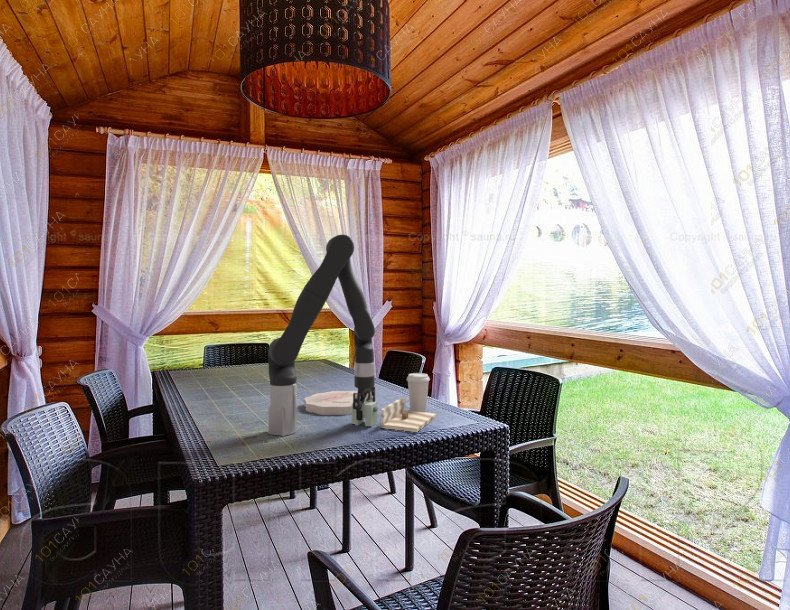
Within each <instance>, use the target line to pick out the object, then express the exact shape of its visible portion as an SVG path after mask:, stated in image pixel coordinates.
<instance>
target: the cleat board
mask: <svg viewBox="0 0 790 610" xmlns="http://www.w3.org/2000/svg"><path fill="white" fill-rule="evenodd" d="M406 403H407V397H406V396H402V397H400V398H399V399H397V400H395V401H393V402H391V403H390V404H387V405H386V406H384V407H383V408H380V429H381V428H386V429H385V430H388V429H395V430H394V431H397V430H404V431H403V432H405V431H412V432H411V433H413V432H418V431H419V430H420V429H421V430H423V429H424V428H425V427H426V426H427V424H428V423H429V422H430V421H431V422H432V421H434V420H435V419H436V418H437V413H435V412H434V413H433V412H415V411H410V410H407V404H406ZM435 417H436V418H435ZM434 418H435V419H434ZM433 419H434V420H433ZM431 422H430V423H431ZM430 423H429V424H430ZM429 424H428V425H429ZM425 425H426V426H425ZM424 426H425V427H424ZM423 427H424V428H423ZM422 428H423V429H422ZM421 430H420V431H421ZM420 431H419V432H420ZM419 432H418V433H419Z"/></svg>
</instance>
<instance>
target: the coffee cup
mask: <svg viewBox="0 0 790 610" xmlns="http://www.w3.org/2000/svg"><path fill="white" fill-rule="evenodd" d="M430 380H431V378H430V376H428V374H427V373H421V372H413V373H408V376H407V378H406V381H407V385H408V386H407V387H408V396H409V397H408V399H409V400H408V401H409V411H415V412H424V413H426V412H427V404H428V392H429V381H430ZM425 411H426V412H425Z"/></svg>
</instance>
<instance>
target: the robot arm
mask: <svg viewBox="0 0 790 610" xmlns="http://www.w3.org/2000/svg"><path fill="white" fill-rule="evenodd" d="M325 250H326V253H325V255H324V257H323V260H322V261H321V263H320V265H319V266H318V268H317V269H316V270H315V272H314V273H313V274H312V275H311V277H310V278H309V280H307V282H306V284H305V285H304V286H303V288H302V290H301V292H300V293H299V296H298V297H297V299H296V302H295V305H294V306H293V310H292V314H291V317H290V320H289V323H288V324H287V327H285V330H284V331H283V333H282V334H281V336H280V337H277V338H275V339H274V340H272V341H271V342H270V344H269V347H268V355H267V357H268V359H267V360H268V362H267V363H268V377H269V407H268V408H267V409H268V435H272V436H273V435H274V436H280V437H284V436H289V435H293V434H296V433H297V432H298V420H297V419H298V418H297V417H298V416H297V415H298V414H297V413H298V412H297V411H298V410H297V409H298V407H297V405H298V402H297V401H298V399H297V398H298V397H297V395H298V393H297V392H298V391H297V390H298V389H297V388H298V387H297V383H298V382H297V381H298V380H297V374H296V368H295V367H296V366H295V364H296V362H295V361H296V360H297V358H298V356H299V354H300V350H301V349H302V346H303V343H304V341H305V339H306V337H307V335H308V333H309V331H310V329H311V328H312V326H313V325H314V323H315V322H316V320H317V318H318V316H319V314H320V313H321V311H322V310H323V308H324V306H325V304H326V302H327V301H328V299H329V296H330V295H331V292H332V290H333V288H334V286H335V283H336V281H337V279H338V281H339V284H340V286H341V287H340V288H341V290H342V293H343V297H344V300H345V303H346V306H347V307H346V308H347V309H348V313H349V315H350V316H351V318H352V322H353V324H354V325H353V326H354V327H353V328H354V329H353V339H354V346H355V347H354V348H355V350H354V351H355V352H354V356H355V357H354V373H353V374H354V376H353V379H354V381H353V385H354V388H357V393H353V409H355V410H356V420H360V421H361V420H362V419H363V415H362V409H363V406H364V405H365V403H366V401H368V402H376V387H375V383H376V382H375V379H376V378H375V363H374V361H375V356H374V355H375V354H374V353H375V352H374V348H373V338H374V336H375V333H376V331H375V330H376V328H375V325H374V321H373V320H372V317H371V314H370V313H369V310H368V306H367V302H366V299H365V295H364V292H363V289H362V287H361V285H360V282H359V281H358V279H357V277H356V274H355V272H354V270H353V267H352V263H351V257H352V256H353V255H354V252H355V243H354V240H353V239H352V237H350V236H349V235H346V234H337V235H335V236H333V237H332V238H330V239H328V241H327V243H326V245H325ZM372 396H373V397H372ZM360 405H361V407H360Z"/></svg>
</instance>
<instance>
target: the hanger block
mask: <svg viewBox="0 0 790 610" xmlns="http://www.w3.org/2000/svg"><path fill="white" fill-rule="evenodd" d="M360 407H361V405H360ZM378 409H379V408H378V402H376V401H375V402H368V401H366V403H365V405H364V406H363V409H362V415H363V419H362V420H361V421H360V420H356V410H355V409H353V403H352V414H351V425H352V424H355V425H354V426H360V425H361V424H363V423H364V426H365V427H367V426H372V427H374V426H375V425H377V424H378ZM362 422H363V423H362ZM360 423H361V424H360ZM376 423H377V424H376ZM374 424H375V425H374ZM373 425H374V426H373Z"/></svg>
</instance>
